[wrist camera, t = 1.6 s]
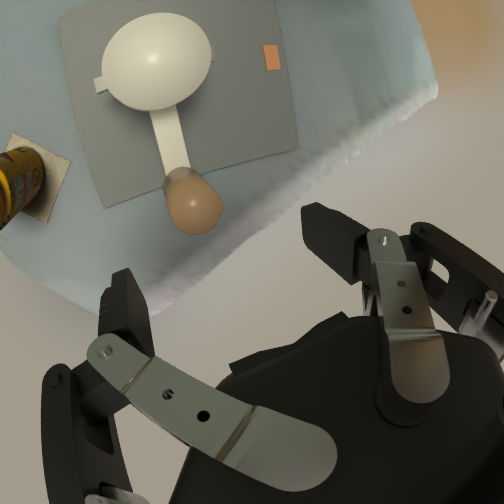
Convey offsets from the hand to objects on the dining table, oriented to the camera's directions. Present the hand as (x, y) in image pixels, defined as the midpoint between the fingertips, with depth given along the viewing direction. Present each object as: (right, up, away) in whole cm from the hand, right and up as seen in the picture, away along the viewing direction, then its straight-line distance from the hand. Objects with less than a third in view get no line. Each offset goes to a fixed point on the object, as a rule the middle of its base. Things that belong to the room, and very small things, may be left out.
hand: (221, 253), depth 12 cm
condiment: (-22, +8, +8) cm, 25 cm away
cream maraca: (-6, +11, +7) cm, 15 cm away
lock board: (-6, +18, +10) cm, 21 cm away
